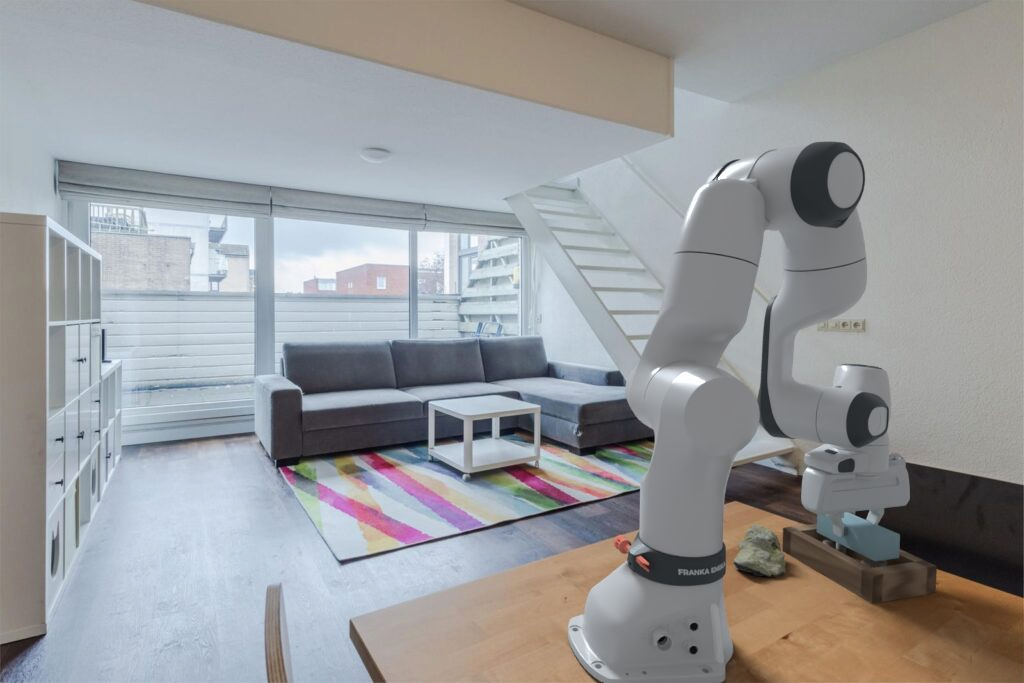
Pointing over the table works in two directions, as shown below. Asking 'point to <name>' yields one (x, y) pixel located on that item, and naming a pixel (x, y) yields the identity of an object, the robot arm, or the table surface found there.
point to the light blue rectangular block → (863, 537)
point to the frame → (860, 567)
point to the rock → (760, 553)
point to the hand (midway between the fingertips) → (855, 533)
